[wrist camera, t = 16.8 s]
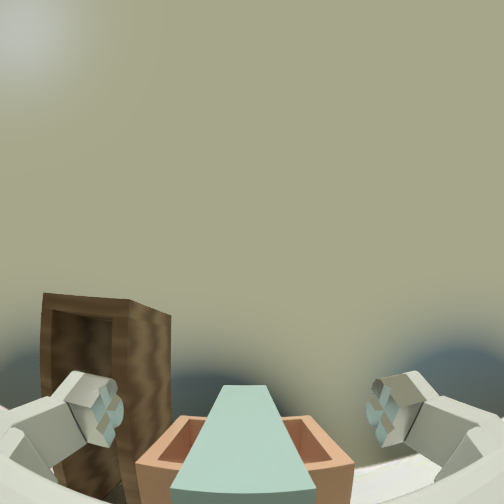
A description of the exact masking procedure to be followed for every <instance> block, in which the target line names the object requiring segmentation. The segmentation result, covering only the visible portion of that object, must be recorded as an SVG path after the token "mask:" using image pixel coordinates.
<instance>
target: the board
mask: <svg viewBox="0 0 504 504" xmlns="http://www.w3.org/2000/svg"><path fill="white" fill-rule="evenodd" d="M316 489H317V488H316V486H315V484H314V483H313V481H312V479H311V477H310V475H309V473H308V471H307V469H306V467H305V465H304V463H303V461H302V459H301V457H300V455H299V453H298V451H297V449H296V447H295V445H294V443H293V441H292V439H291V437H290V435H289V433H288V431H287V429H286V427H285V425H284V423H283V421H282V419H281V417H280V415H279V413H278V411H277V408H276V406H275V404H274V402H273V400H272V398H271V396H270V394H269V392H268V389H267V387H266V385H252V386H250V385H249V386H240V385H239V386H238V385H224V386H223V388H222V390H221V392H220V394H219V396H218V398H217V400H216V402H215V404H214V406H213V407H212V410H211V411H210V413H209V415H208V417H207V419H206V421H205V423H204V425H203V427H202V429H201V431H200V433H199V435H198V437H197V438H196V440H195V442H194V444H193V446H192V448H191V450H190V452H189V454H188V455H187V457H186V459H185V461H184V463H183V465H182V467H181V468H180V470H179V472H178V474H177V476H176V478H175V479H174V481H173V483H172V485H171V487H170V493H171V500H172V504H315V500H316Z"/></svg>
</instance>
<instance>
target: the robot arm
mask: <svg viewBox="0 0 504 504" xmlns="http://www.w3.org/2000/svg"><path fill="white" fill-rule="evenodd" d="M117 390H118V387H117V384H116V381H115V380H113V379H112V378H107V377H102V376H97V375H93V374H88V373H83V372H79V371H72V372H71V373H70V374H69V375H68V377H67V378H66V379H65V380H64V381H63V382H62V384H61V385H60V386H59V387H58V388H57V390H56V391H55V392H54V393H53V394H52V396H51V397H48V396H46V397H43V398H41V399H38V400H36V401H33V402H30V403H28V404H25V405H22V406H20V407H17V408H14V409H11V410H9V411H6V412H3V413H0V504H111V503H108V502H105V501H101V500H98V499H95V498H93V497H90V496H87V495H84V494H82V493H79V492H76V491H74V490H71V489H69V488H66V487H64V486H62V485H59V484H58V479H57V478H56V476H55V475H54V474H53V473H52V471H51V470H50V468H51V467H53V466H54V465H56V464H58V463H59V462H61V461H62V460H64V459H65V458H67V457H68V456H70V455H71V454H73V453H74V452H75V451H77V450H78V449H80V448H81V447H83V446H84V445H86V444H87V443H91V444H95V445H98V446H103V447H107V448H110V446H111V443H112V441H113V439H114V437H115V435H116V433H115V431H114V428H116V427H118V426H119V425H120V424H121V422H122V420H123V414H124V408H123V403H122V400H121V398H120V397H119V396H118V395H117V394H116V392H117ZM372 390H373V392H374V394H373V395H372V396H371V397H370V398H369V399H368V403H367V406H366V414H367V419H368V421H369V423H370V425H372V426H373V427H375V428H377V429H376V432H375V435H376V437H377V439H378V441H379V443H380V445H381V447H386V446H390V445H394V444H398V443H402V442H404V443H405V444H406V445H408V446H409V447H411V448H412V449H414V450H416V451H417V452H419V453H420V454H422V455H423V456H425V457H426V458H428V459H430V460H431V461H433V462H434V463H436V464H438V465H439V466H441V467H442V469H441V471H440V472H439V473H438V474H437V476H436V477H435V479H434V482H435V483H433V484H430V485H428V486H426V487H423V488H421V489H418V490H416V491H413V492H411V493H408V494H405V495H403V496H400V497H397V498H394V499H391V500H388V501H385V502H382V503H378V504H504V422H503V421H502V420H501V419H500V418H499V417H498V416H497V415H496V414H492V413H490V412H486V411H484V410H481V409H478V408H475V407H472V406H469V405H467V404H464V403H461V402H459V401H456V400H453V399H450V398H448V397H445V396H441V397H440V396H439V395H438V394H437V393H436V392H435V390H434V389H433V388H432V387H431V386H430V385H429V384H428V382H427V381H426V380H425V379H424V378H423V377H422V376H421V374H420V373H419V372H417V371H411V372H407V373H403V374H399V375H395V376H390V377H384V378H379V379H376V380H375V381H374V383H373V386H372ZM86 442H87V443H86Z"/></svg>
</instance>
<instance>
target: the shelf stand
mask: <svg viewBox="0 0 504 504" xmlns="http://www.w3.org/2000/svg"><path fill="white" fill-rule="evenodd" d="M170 352H171V315H168V314H166V313H163V312H160V311H158V310H155V309H152V308H150V307H147V306H144V305H142V304H140V303H137V302H135V301H132V300H130V299H115V298H114V299H113V298H100V297H85V296H74V295H63V294H52V293H43V301H42V313H41V331H40V377H41V393H42V398H43V397H46V396H48V397H51V396H52V394H53V393H54V392H55V391H56V390H57V388H58V387H59V386H60V385H61V384H62V382H63V381H64V380H65V379H66V378H67V377H68V375H69V374H70V373H71V372H72V371H79V372H83V373H88V374H93V375H97V376H102V377H107V378H112V379H113V380H115V381H116V384H117V387H118V390H117V392H116V394H117V395H118V396H119V397H120V398H121V400H122V403H123V408H124V414H123V420H122V422H121V424H120V425H119V426H118V427H116V428H114V431H115V433H116V435H115V437H114V439H113V441H112V443H111V446H110V448H107V447H103V446H98V445H95V444H91V443H87V442H86V443H87V444H86V445H84V446H83V447H81V448H80V449H78V450H77V451H75V452H74V453H73V454H71V455H70V456H68V457H67V458H65V459H64V460H62V461H61V462H59V463H58V464H56V465H54V466H53V471H54V475H55V476H56V478H57V479H58V484H59V485H62V486H64V487H66V488H69V489H71V490H74V491H76V492H79V493H82V494H84V495H87V496H90V497H93V498H95V499H98V500H101V501H102V500H103V499H104V498H105V497H106V496H107V495H108V494H109V493H110V492H111V491H112V490H113V489H114V488H115V487H116V486H117V485H118V484H119V483H120V482H121V481H122V483H123V489H124V494H125V498H126V503H127V504H142V503H141V498H140V492H139V487H138V480H137V474H136V467H135V462H136V461H137V460H138V459H139V458H140V457H141V456H142V455H143V454H144V453H145V452H146V451H147V450H148V449H149V448H150V447H151V446H152V445H153V444H154V443H155V442H156V441H157V440H158V439H159V438H160V437H161V436H162V435H163V434H164V433H165V432H166V431H167V429H168V428H169V427H170V426H171V425H172V408H171V362H170V361H171V360H170V358H171V353H170Z"/></svg>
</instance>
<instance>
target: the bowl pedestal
mask: <svg viewBox="0 0 504 504" xmlns="http://www.w3.org/2000/svg"><path fill="white" fill-rule="evenodd" d="M206 419H207V417H194V416H180V417H179V418H178V419H177V420H176V421H175V422H174V423H173V424H172V425H171V426H170V427H169V428H168V429H167V431H166V432H165V433H164V434H163V435H162V436H161V437H160V438H159V439H158V440H157V441H156V442H155V443H154V444H153V445H152V446H151V447H150V448H149V449H148V450H147V451H146V452H145V453H144V454H143V455H142V456H141V457H140V458H139V459H138V460H137V461H136V462H135V467H136V474H137V480H138V487H139V492H140V498H141V503H142V504H172V500H171V493H170V487H171V485H172V483H173V481H174V479H175V478H176V476H177V474H178V472H179V470H180V468H181V467H182V465H183V463H184V461H185V459H186V457H187V455H188V454H189V452H190V450H191V448H192V446H193V444H194V442H195V440H196V438H197V437H198V435H199V433H200V431H201V429H202V427H203V425H204V423H205V421H206ZM281 419H282V421H283V423H284V425H285V427H286V429H287V431H288V433H289V435H290V437H291V439H292V441H293V443H294V445H295V447H296V449H297V451H298V453H299V455H300V457H301V459H302V461H303V463H304V465H305V467H306V469H307V471H308V473H309V475H310V477H311V479H312V481H313V483H314V484H315V486H316V488H317V489H316V500H315V504H350V498H351V491H352V484H353V476H354V467H355V463H354V462H353V461H352V460H351V459H350V458H349V456H348V455H347V454H346V453H345V452H344V451H343V450H342V449H341V448H340V447H339V446H338V445H337V444H336V443H335V442H334V441H333V440H332V439H331V438H330V437H329V436H328V435H327V434H326V432H325V431H324V430H323V429H322V428H321V427H320V426H319V425H318V424H317V423H316V422H315V421H314V420H313V418H312V417H311V416H310V415H308V416H295V417H281Z"/></svg>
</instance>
